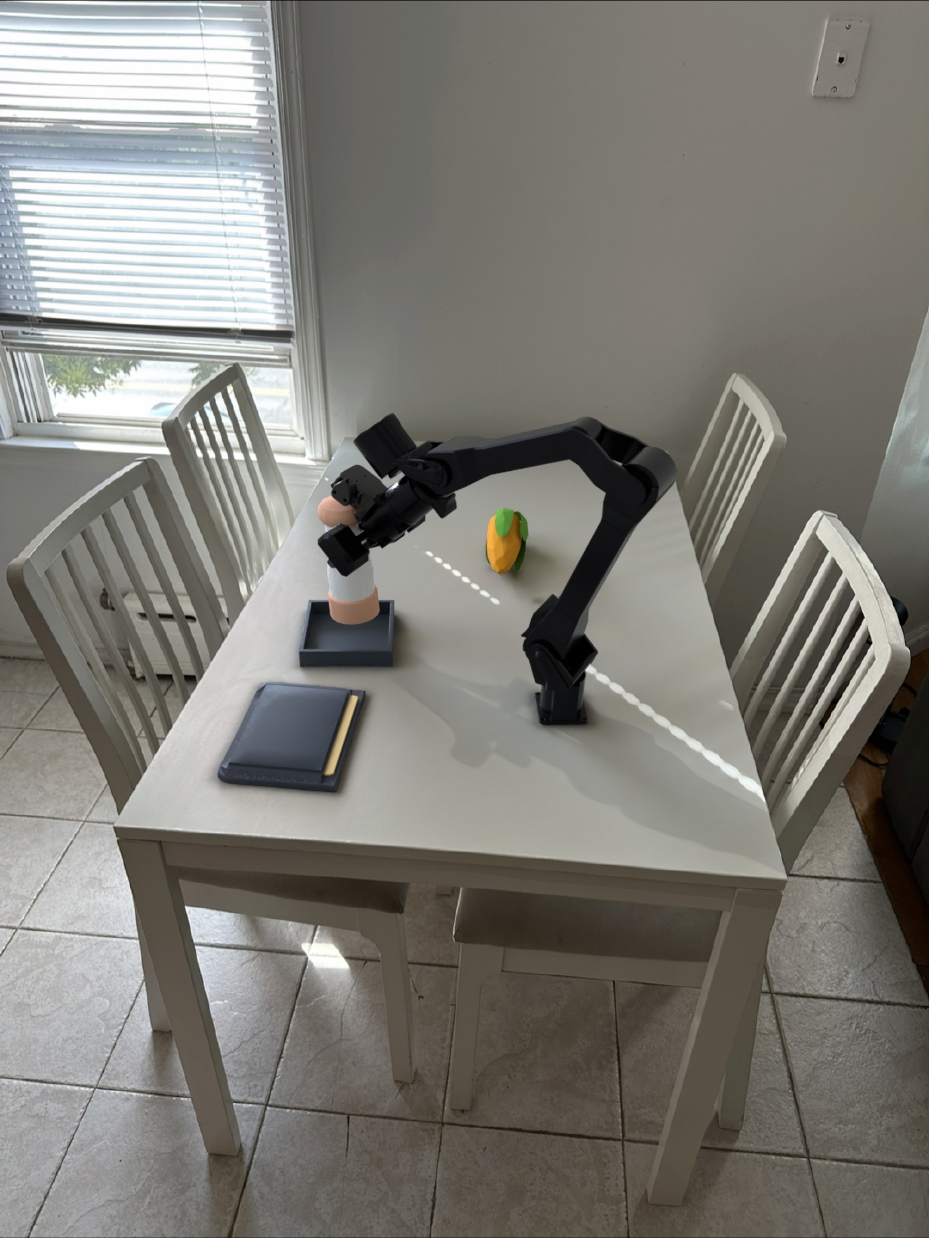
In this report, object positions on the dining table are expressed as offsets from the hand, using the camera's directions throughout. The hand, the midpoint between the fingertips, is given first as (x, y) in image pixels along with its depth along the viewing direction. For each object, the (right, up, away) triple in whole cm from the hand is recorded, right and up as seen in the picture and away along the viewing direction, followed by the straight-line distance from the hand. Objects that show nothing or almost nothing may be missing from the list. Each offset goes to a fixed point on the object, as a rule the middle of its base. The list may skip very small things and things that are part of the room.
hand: (341, 556), depth 132 cm
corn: (+25, +1, +28) cm, 37 cm away
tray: (0, -12, +6) cm, 13 cm away
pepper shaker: (+1, -8, +4) cm, 9 cm away
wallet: (-4, -24, -13) cm, 28 cm away
